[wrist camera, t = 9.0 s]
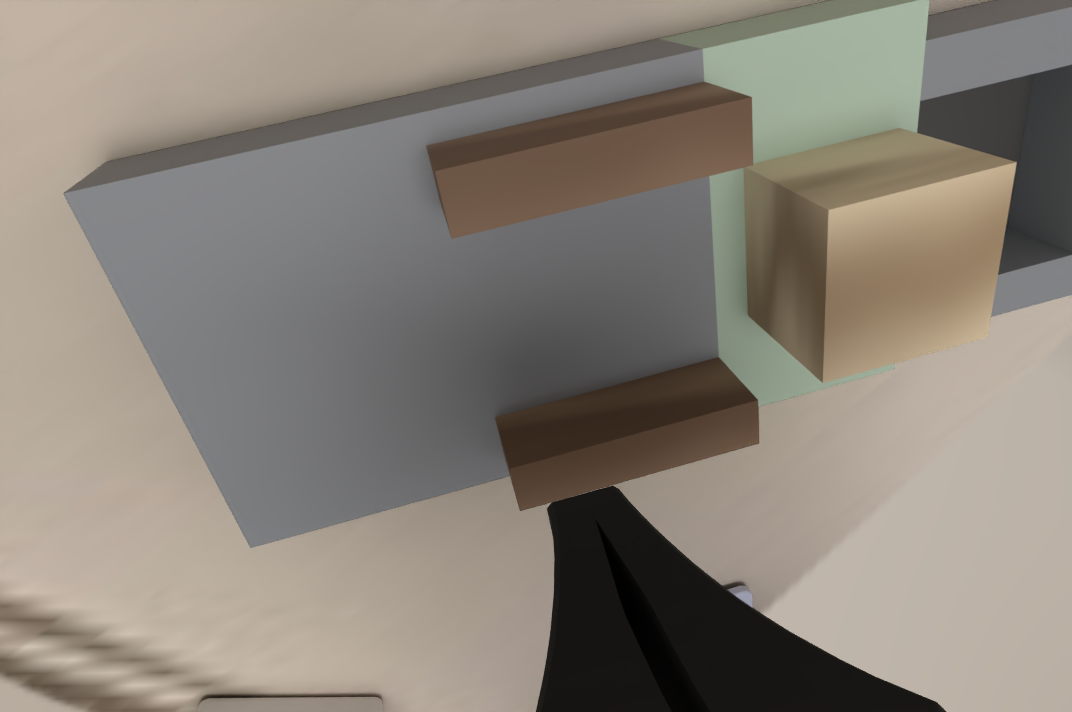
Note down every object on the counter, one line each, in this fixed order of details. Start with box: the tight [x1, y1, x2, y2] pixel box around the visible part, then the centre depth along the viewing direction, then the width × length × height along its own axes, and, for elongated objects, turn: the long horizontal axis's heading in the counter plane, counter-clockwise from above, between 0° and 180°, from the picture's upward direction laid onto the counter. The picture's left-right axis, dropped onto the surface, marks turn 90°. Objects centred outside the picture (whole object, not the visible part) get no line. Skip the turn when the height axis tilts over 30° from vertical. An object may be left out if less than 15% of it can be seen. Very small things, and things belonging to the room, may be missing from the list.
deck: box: [63, 0, 1072, 548], centre depth 21 cm, size 11×28×3 cm, turn 100°
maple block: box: [744, 128, 1017, 383], centre depth 18 cm, size 4×4×4 cm
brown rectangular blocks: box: [426, 82, 759, 511], centre depth 18 cm, size 10×7×2 cm
